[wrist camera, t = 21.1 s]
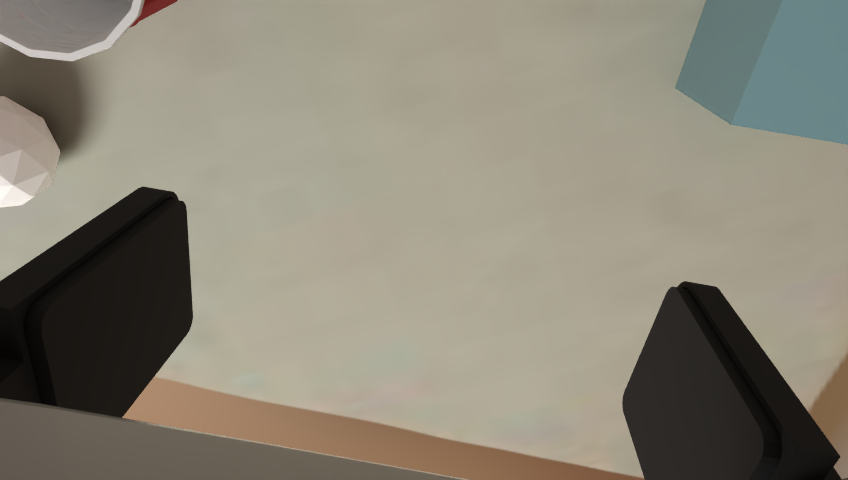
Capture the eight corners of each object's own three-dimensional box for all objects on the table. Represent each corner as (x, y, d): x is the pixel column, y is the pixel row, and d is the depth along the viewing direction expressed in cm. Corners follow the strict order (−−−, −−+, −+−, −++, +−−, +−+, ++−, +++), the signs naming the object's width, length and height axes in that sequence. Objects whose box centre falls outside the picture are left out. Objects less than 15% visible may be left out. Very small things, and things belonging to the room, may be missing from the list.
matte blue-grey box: (855, -24, 32) (978, -18, 24) (793, 108, 35) (883, 150, 27) (722, -46, 32) (802, -47, 24) (675, 87, 35) (730, 124, 27)
